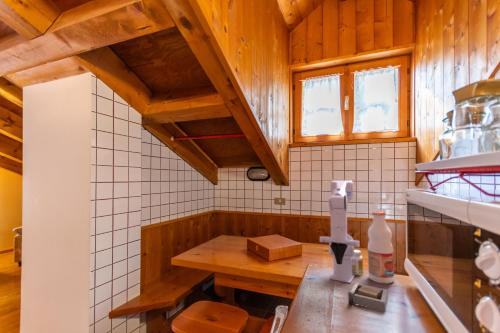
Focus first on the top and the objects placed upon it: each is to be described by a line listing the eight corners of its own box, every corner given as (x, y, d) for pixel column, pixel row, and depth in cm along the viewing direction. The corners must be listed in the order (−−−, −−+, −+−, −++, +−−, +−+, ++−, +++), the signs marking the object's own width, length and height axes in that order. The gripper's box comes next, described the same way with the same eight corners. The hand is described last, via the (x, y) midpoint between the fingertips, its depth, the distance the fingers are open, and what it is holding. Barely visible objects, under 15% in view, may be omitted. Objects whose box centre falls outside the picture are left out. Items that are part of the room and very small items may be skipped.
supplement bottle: (362, 271, 114) (361, 249, 114) (364, 275, 108) (363, 253, 109) (349, 270, 115) (348, 248, 115) (350, 274, 110) (350, 252, 110)
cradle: (359, 292, 94) (359, 283, 94) (387, 298, 89) (387, 289, 89) (354, 304, 85) (354, 295, 85) (384, 312, 80) (384, 302, 80)
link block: (363, 296, 91) (363, 285, 91) (381, 302, 86) (381, 290, 87) (358, 301, 87) (357, 289, 87) (376, 307, 83) (376, 295, 83)
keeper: (352, 306, 83) (352, 294, 84) (348, 305, 84) (347, 293, 84) (359, 292, 93) (359, 281, 93) (355, 291, 94) (355, 280, 94)
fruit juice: (370, 273, 111) (368, 210, 112) (395, 277, 106) (392, 211, 107) (367, 280, 103) (364, 212, 104) (393, 286, 98) (390, 214, 99)
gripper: (316, 226, 97) (316, 262, 96) (355, 230, 88) (356, 270, 87) (323, 224, 103) (323, 258, 101) (360, 228, 94) (361, 265, 92)
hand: (339, 263), depth 94 cm, fingers closed
